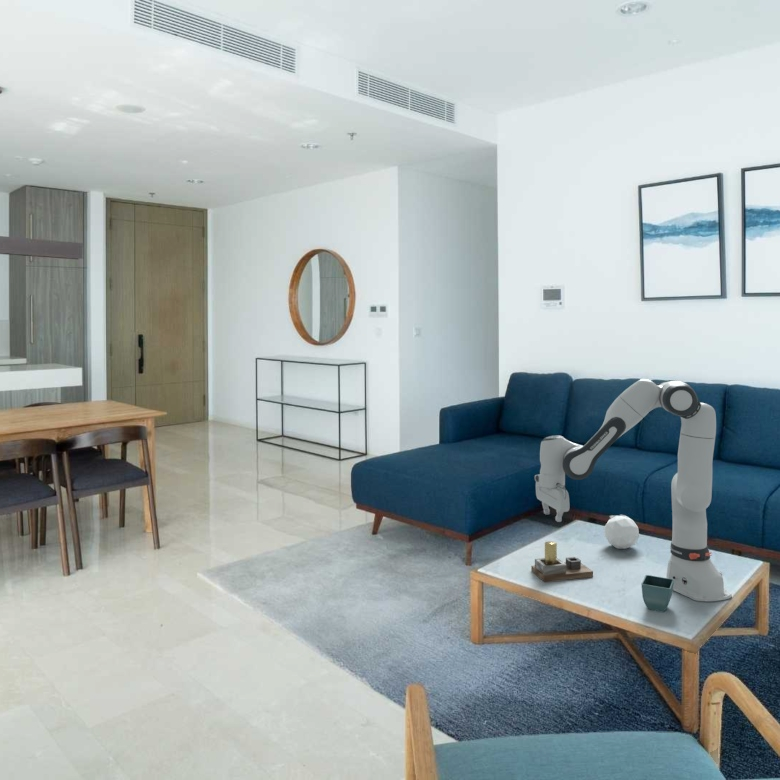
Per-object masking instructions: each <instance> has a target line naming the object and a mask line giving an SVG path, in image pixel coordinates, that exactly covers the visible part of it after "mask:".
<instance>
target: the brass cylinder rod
mask: <svg viewBox="0 0 780 780" xmlns="http://www.w3.org/2000/svg"><path fill="white" fill-rule="evenodd" d="M557 545H558V544H557V542H555V541H551V540H550V541H548V540H547V541H545V542H544V558H545V565H556V564H557V558H558V557H557V556H558V554H557V549H558V548H557V547H558V546H557Z"/></svg>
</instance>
